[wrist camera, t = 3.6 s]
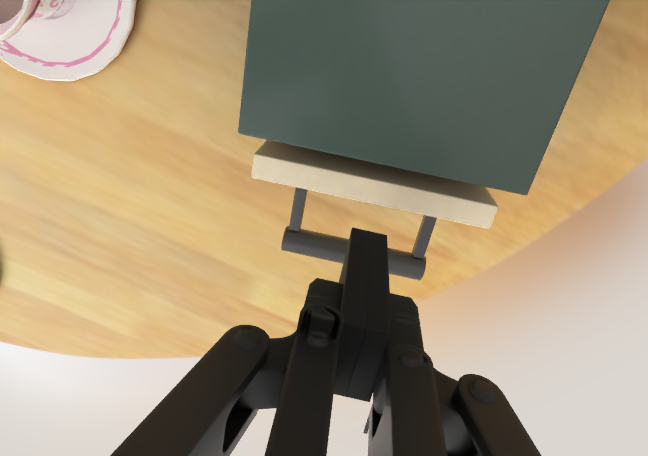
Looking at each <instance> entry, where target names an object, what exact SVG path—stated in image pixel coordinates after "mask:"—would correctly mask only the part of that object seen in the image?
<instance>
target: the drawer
mask: <svg viewBox="0 0 648 456" xmlns="http://www.w3.org/2000/svg"><path fill="white" fill-rule="evenodd" d="M251 177H252V178H256V179H260V180H265V181H270V182H274V183H279V184H283V185H288V186H293V187H296V190H295V196H294V202H293V208H292V213H291V219H290V225H289V226H287V227H286V229H285V232H284V236H283V241H282V250H284V251H288V252H293V253H298V254H302V255H307V256H311V257H316V258H320V259H325V260H329V261H334V262H339V263H343V264H344V259H345V255H346V251H347V247H348V243H349V239H345V238H340V237H336V236H331V235H327V234H322V233H317V232H313V231H308V230H304V229H300V228H301V224H302V218H303V213H304V207H305V202H306V196H307V191H308V190H311V191H316V192H320V193H325V194H329V195H334V196H339V197H343V198H348V199H352V200H357V201H362V202H366V203H371V204H375V205H380V206H385V207H389V208H394V209H399V210H403V211H408V212H412V213H417V214H422V215H424V216H423V219H422V223H421V226H420V229H419V232H418V235H417V238H416V241H415V244H414V248H413V251H412V253H409V252H404V251H400V250H395V249H391V248H387V249H388V270H389V274H393V275H398V276H402V277H407V278H411V279H416V280H421V279H422V277H423V275H424V271H425V267H426V257H425V256H424V255H425V252H426V249H427V246H428V243H429V240H430V237H431V234H432V231H433V228H434V225H435V222H436V219H437V218H440V219H445V220H449V221H454V222H458V223H463V224H468V225H472V226H477V227H481V228H486V229H490V227H491V225H492V222H493V220H494V217H495V215H496V212H497V210H498V205H497V204H496V202H495V201H494V199H493V198H492V196H491V195H490V193H489V192H488V190H487V189H486V187H484V186H480V185H475V184H471V183H466V182H461V181H457V180H452V179H447V178H443V177H438V176H433V175H429V174H424V173H419V172H415V171H410V170H406V169H401V168H396V167H392V166H387V165H382V164H378V163H373V162H368V161H364V160H359V159H355V158H350V157H345V156H341V155H336V154H331V153H327V152H322V151H317V150H313V149H308V148H303V147H299V146H294V145H290V144H285V143H280V142H276V141H271V140H267V141H266V142H265V143H264V144H263V145H262V146H261V147H260V148H259V149H258V150H257V152H256V153H255V154H254V158H253V166H252V174H251Z"/></svg>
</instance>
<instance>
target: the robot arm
mask: <svg viewBox="0 0 648 456" xmlns="http://www.w3.org/2000/svg"><path fill="white" fill-rule="evenodd" d="M372 393H373V404H372V408H371V411H370V414H369V417H368V420H367V423H366V426H365V429H364V433H367V432H368V429H369V442H368V443H369V444H368V456H541V454H540V453H539V451H538V450H537V448H536V446H535V445H534V443H533V441H532V440H531V438H530V437H529V435H528V433H527V432H526V430H525V428H524V427H523V425H522V424H521V422H520V420H519V419H518V417H517V415H516V414H515V412H514V410H513V409H512V407H511V406H510V404H509V402H508V401H507V399H506V397H505V396H504V394H503V392H502V391H501V390H500V389H499V388H498V386H497V385H495V384H494V383H493V382H491V381H490V380H489V379H487V378H484V377H482V376H480V375H475V374H467V375H463V376H462V377H461V378H460V379H459V381H456V380H454V379H452V378H450V377H448V376H446V375H444V374H442V373H440V372H439V371H437V370H436V369H435V368H433V363H432V361H431V358H430V357H429V356H428V355H427V354H426V353H425V352H424V348H423V341H422V335H421V328H420V321H419V314H418V307H417V306H416V304H415V303H414V302H413V300H412V299H411V298H409V297H405V296H400V295H396V294H391V293H390V291H389V270H388V249H387V235H384V234H379V233H374V232H370V231H365V230H361V229H356V228H352V230H351V235H350V239H349V243H348V247H347V251H346V255H345V259H344V264H343V268H342V272H341V276H340V280H339V283H337V282H333V281H328V280H324V279H319V278H317V279H315V280H314V281H313V282H312V283H311V284H310V285H309V289H308V293H307V297H306V301H305V304H304V307H303V308H302V310H301V312H300V317H299V322H298V327H297V330H296V331H295V332H294V333H293V334H291V335H290V336H287V337H284V338H270V339H269V336H268V335H267V333H266V332H265V331H264V330H262V329H260V328H259V327H256V326H252V325H239V326H236V327H233V328H231V329H230V330H228V331H227V332H226V333H225V334H224V335H223V336H222V337H221V338H220V339H219V341H218V342H217V343H216V344H215V345H214V346H213V347H212V348H211V349H210V350H209V351H208V352H207V353H206V354H205V355H204V356H203V358H202V359H201V360H200V361H199V362H198V363H197V364H196V365H195V366H194V367H193V368H192V369H191V371H189V372H188V373H187V375H186V376H185V377H184V378H183V379H182V380H181V381H180V382H179V383H178V384H177V386H175V387H174V388H173V389H172V391H171V392H170V393H169V394H168V395H167V396H166V397H165V398H164V399H163V400H162V401H161V402H160V403H159V404H158V406H156V408H155V409H154V410H153V411H152V412H151V413H150V414H149V415H148V416H147V417H146V418H145V419H144V420H143V421H142V422H141V423H140V425H139V426H138V427H137V428H136V429H135V430H134V431H133V432H132V433H131V434H130V435H129V436H128V437H127V438H126V439H125V440H124V442H123V443H122V444H121V445H120V446H119V447H118V448H117V449H116V450H115V451H114V452H113V453H112V455H111V456H230V454H231V453H232V451H233V450H234V448H235V446H236V445H237V443H238V442H239V440H240V439H241V437H242V436H243V434H244V432H245V431H246V429H247V428H248V426H249V425H250V423H251V422H252V420H253V419H254V417H255V416H256V414H257V411H258V409H268V408H277V410H276V414H275V418H274V421H273V425H272V429H271V433H270V437H269V441H268V445H267V448H266V452H265V456H326V453H327V445H328V444H327V443H328V436H329V427H330V418H331V410H332V401H333V394H337V395H341V396H346V397H350V398H354V399H359V400H363V401H368V402H370V399H371V396H372Z"/></svg>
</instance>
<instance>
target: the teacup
mask: <svg viewBox="0 0 648 456" xmlns="http://www.w3.org/2000/svg"><path fill="white" fill-rule="evenodd" d="M136 1H137V0H0V59H1V60H3V61H4V62H6V63H7V64H9V65H10V66H11V67H13V68H14V69H16V70H18V71H21V72H24V73H27V74H29V75H32V76H35V77H37V78H40V79H43V80H55V81H75V80H78V79H81V78H84V77H87V76H90V75H93V74H96V73H99V72H100V71H102V70H103V69H104V68H105V67H106V66H107V65H108V64H109V63H110V62H111V61H113V60H114V59H115V58H116V57H117V56H118V55H119V54H120V53H121V50H122V48H123V46H124V44H125V42H126V40H127V38H128V36H129V34H130V32H131V30H132V28H133V23H134V16H135V8H136Z"/></svg>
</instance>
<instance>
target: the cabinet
mask: <svg viewBox="0 0 648 456" xmlns="http://www.w3.org/2000/svg"><path fill="white" fill-rule="evenodd" d="M609 1H610V0H251V10H250V20H249V30H248V40H247V50H246V59H245V69H244V79H243V89H242V99H241V109H240V119H239V128H238V132H239V133H240V134H243V135H248V136H252V137H257V138H262V139H266V140H271V141H276V142H280V143H285V144H290V145H294V146H299V147H303V148H308V149H313V150H317V151H322V152H327V153H331V154H336V155H341V156H345V157H350V158H355V159H359V160H364V161H368V162H373V163H378V164H382V165H387V166H392V167H396V168H401V169H406V170H410V171H415V172H419V173H424V174H429V175H433V176H438V177H443V178H447V179H452V180H457V181H461V182H466V183H471V184H475V185H480V186H484V187H489V188H494V189H498V190H503V191H508V192H512V193H517V194H522V195H527V194H528V191H529V189H530V187H531V184H532V182H533V179H534V177H535V175H536V172H537V170H538V168H539V165H540V163H541V161H542V158H543V156H544V154H545V151H546V149H547V147H548V144H549V142H550V139H551V137H552V135H553V132H554V130H555V128H556V125H557V123H558V121H559V118H560V116H561V114H562V111H563V109H564V107H565V104H566V102H567V99H568V97H569V95H570V92H571V90H572V88H573V85H574V83H575V81H576V78H577V76H578V74H579V71H580V69H581V67H582V64H583V62H584V60H585V57H586V55H587V52H588V50H589V48H590V45H591V43H592V41H593V38H594V36H595V34H596V31H597V29H598V27H599V24H600V22H601V20H602V17H603V15H604V12H605V10H606V8H607V5H608V3H609Z"/></svg>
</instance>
